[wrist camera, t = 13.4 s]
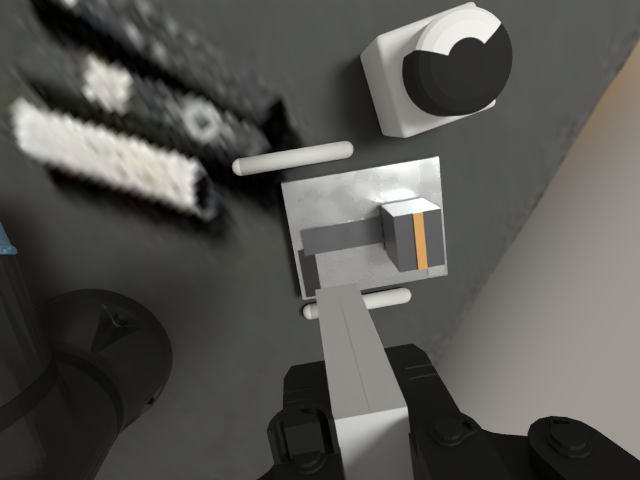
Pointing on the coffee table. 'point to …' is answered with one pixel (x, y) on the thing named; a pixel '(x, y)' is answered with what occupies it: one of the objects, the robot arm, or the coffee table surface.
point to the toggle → (413, 234)
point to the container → (437, 69)
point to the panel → (355, 222)
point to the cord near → (292, 158)
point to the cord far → (369, 301)
